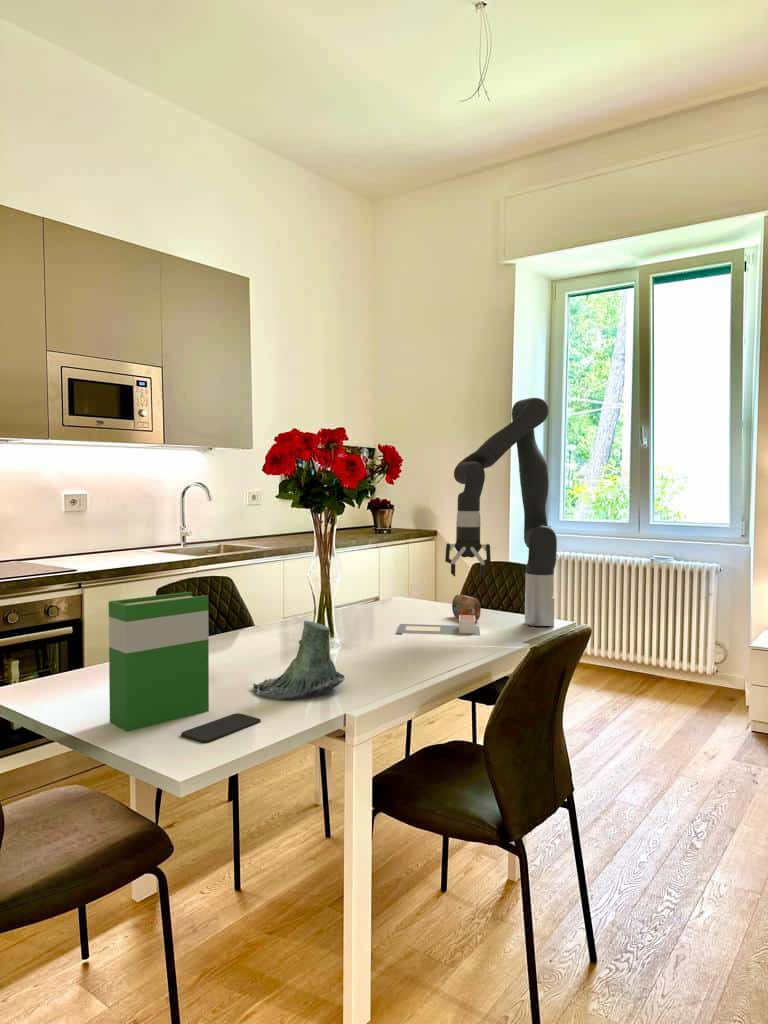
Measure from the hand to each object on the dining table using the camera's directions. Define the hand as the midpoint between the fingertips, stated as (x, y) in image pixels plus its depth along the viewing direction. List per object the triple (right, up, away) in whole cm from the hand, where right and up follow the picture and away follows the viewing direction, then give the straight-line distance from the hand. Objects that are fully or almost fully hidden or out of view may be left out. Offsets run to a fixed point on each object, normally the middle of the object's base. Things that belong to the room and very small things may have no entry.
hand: (467, 576), depth 226 cm
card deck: (0, -17, +1) cm, 17 cm away
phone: (-58, -22, -89) cm, 108 cm away
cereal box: (-72, -21, -82) cm, 111 cm away
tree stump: (-46, -21, -62) cm, 80 cm away
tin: (+2, -17, +20) cm, 26 cm away
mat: (-9, -18, +2) cm, 20 cm away
